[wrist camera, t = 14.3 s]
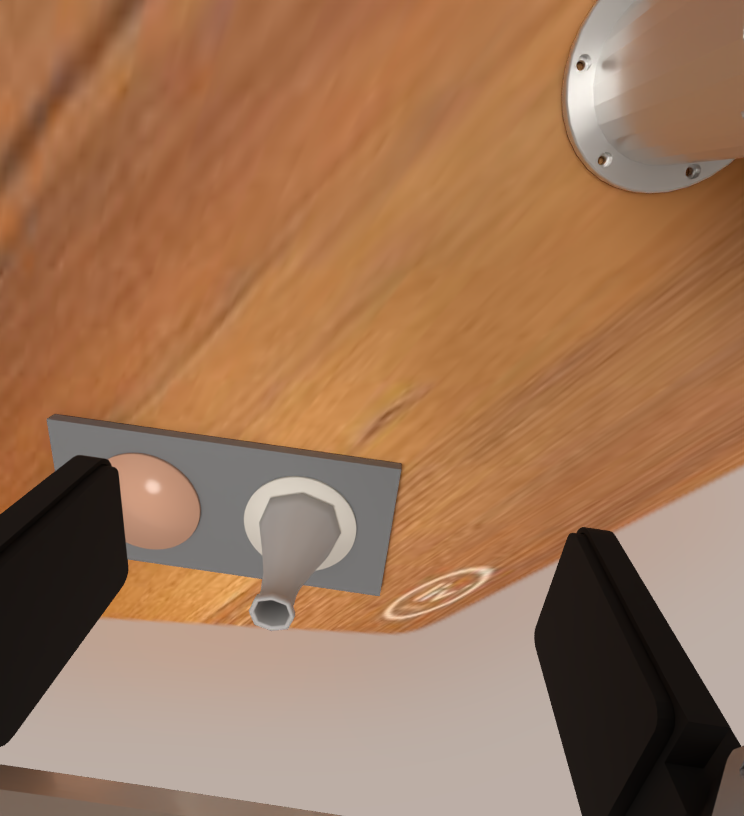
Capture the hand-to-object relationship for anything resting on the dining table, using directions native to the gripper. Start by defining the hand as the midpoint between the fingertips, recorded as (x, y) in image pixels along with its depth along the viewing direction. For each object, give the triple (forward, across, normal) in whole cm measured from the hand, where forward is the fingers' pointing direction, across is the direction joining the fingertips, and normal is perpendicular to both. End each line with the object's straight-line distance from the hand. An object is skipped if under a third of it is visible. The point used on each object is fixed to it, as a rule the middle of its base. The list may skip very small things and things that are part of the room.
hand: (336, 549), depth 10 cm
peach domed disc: (+27, +19, +21) cm, 39 cm away
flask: (+27, +5, +21) cm, 35 cm away
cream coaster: (+27, +5, +21) cm, 35 cm away
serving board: (+28, +12, +21) cm, 37 cm away
